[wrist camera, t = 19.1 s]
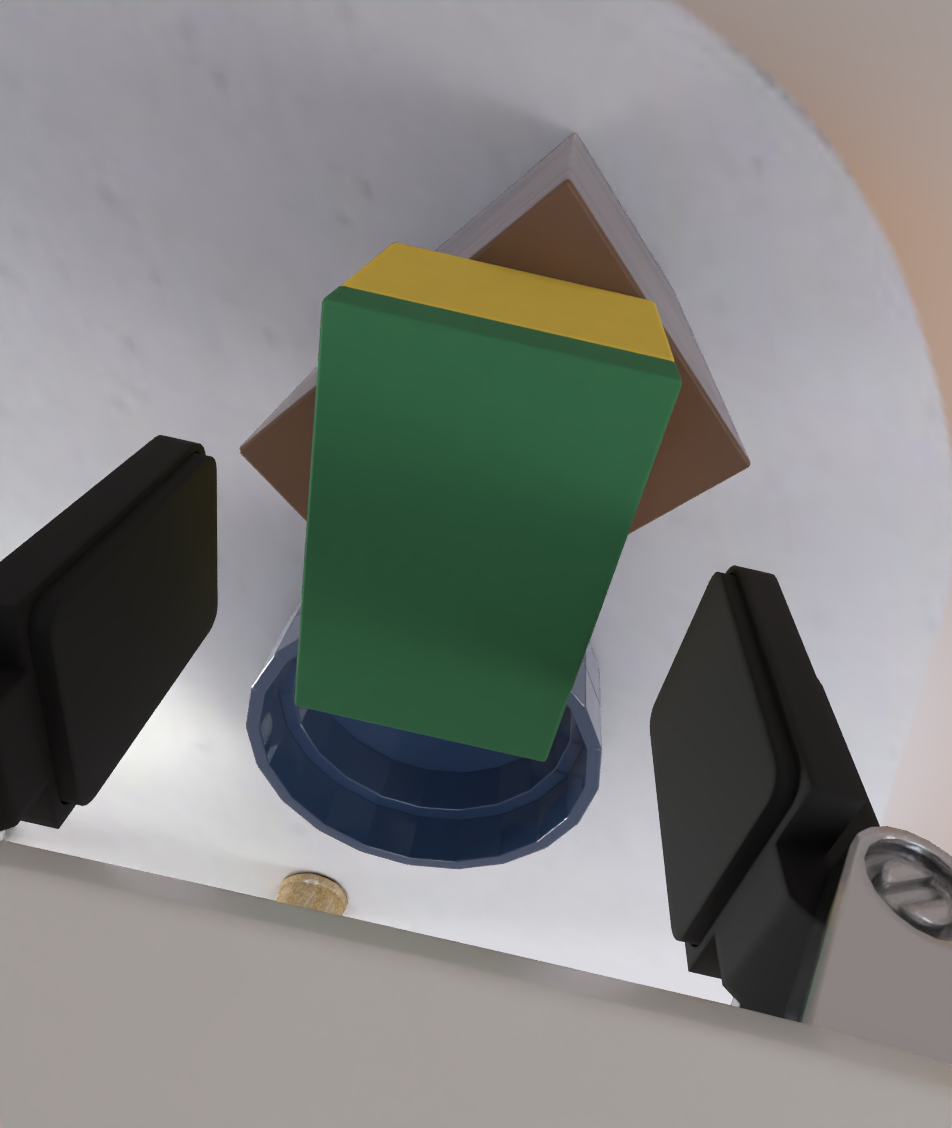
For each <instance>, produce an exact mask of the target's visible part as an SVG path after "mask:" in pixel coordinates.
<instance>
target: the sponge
mask: <svg viewBox="0 0 952 1128" xmlns="http://www.w3.org/2000/svg"><path fill="white" fill-rule="evenodd" d="M681 386H682V380H681V377H680V374H679V371H678V368H677V365H676V363H675V362H674V358H673V355H672V352H671V349H670V346H669V343H668V340H667V337H666V334H665V331H664V328H663V325H662V322H661V319H660V316H659V313H658V310H657V307H656V304H655V303H654V302H653V301H650V300H646V299H642V298H637V297H633V296H629V295H624V294H620V293H615V292H611V291H607V290H602V289H598V288H594V287H589V286H585V285H580V284H576V283H572V282H567V281H563V280H559V279H554V278H550V277H545V276H541V275H537V274H532V273H528V272H523V271H519V270H515V269H510V268H506V267H502V266H497V265H493V264H488V263H484V262H480V261H475V260H471V259H467V258H462V257H458V256H453V255H449V254H445V253H440V252H436V251H432V250H427V249H423V248H418V247H414V246H410V245H405V244H401V243H397V242H396V243H392V244H391V245H390V246H388V247H387V248H386V249H385V250H384V251H382V252H381V253H380V254H379V255H377V256H376V257H375V258H374V259H373V260H371V261H370V262H369V263H368V264H367V265H365V266H364V267H363V268H362V269H360V270H359V271H358V272H357V273H356V274H354V275H353V276H352V277H351V278H350V279H348V280H347V281H346V282H345V283H343V284H342V286H339V287H338V288H337V289H335V290H334V291H333V292H332V293H331V294H329V295H328V296H327V297H326V298H324V300H323V302H322V311H321V325H320V340H319V354H318V368H317V383H316V397H315V412H314V426H313V441H312V455H311V470H310V484H309V498H308V513H307V527H306V542H305V556H304V571H303V585H302V599H301V614H300V628H299V643H298V657H297V672H296V686H295V701H294V702H295V705H296V706H299V707H304V708H308V709H313V710H317V711H322V712H326V713H330V714H335V715H339V716H344V717H348V718H352V719H357V720H361V721H366V722H370V723H374V724H379V725H383V726H388V727H392V728H397V729H401V730H405V731H410V732H414V733H419V734H423V735H427V736H432V737H436V738H441V739H445V740H449V741H454V742H458V743H463V744H467V745H472V746H476V747H480V748H485V749H489V750H494V751H498V752H502V753H507V754H511V755H516V756H520V757H524V758H529V759H533V760H538V761H542V762H543V761H546V759H547V757H548V755H549V752H550V749H551V746H552V744H553V741H554V738H555V735H556V732H557V730H558V727H559V724H560V721H561V719H562V716H563V713H564V710H565V707H566V705H567V702H568V699H569V696H570V694H571V691H572V688H573V685H574V682H575V680H576V677H577V674H578V671H579V669H580V666H581V663H582V660H583V658H584V655H585V652H586V649H587V646H588V644H589V641H590V638H591V635H592V633H593V630H594V627H595V624H596V621H597V619H598V616H599V613H600V610H601V608H602V605H603V602H604V599H605V597H606V594H607V591H608V588H609V585H610V583H611V580H612V577H613V574H614V572H615V569H616V566H617V563H618V560H619V558H620V555H621V552H622V549H623V547H624V544H625V541H626V538H627V536H628V533H629V530H630V527H631V524H632V522H633V519H634V516H635V513H636V511H637V508H638V505H639V502H640V499H641V497H642V494H643V491H644V488H645V486H646V483H647V480H648V477H649V474H650V472H651V469H652V466H653V463H654V461H655V458H656V455H657V452H658V450H659V447H660V444H661V441H662V438H663V436H664V433H665V430H666V427H667V425H668V422H669V419H670V416H671V413H672V411H673V408H674V405H675V402H676V400H677V397H678V394H679V391H680V389H681Z"/></svg>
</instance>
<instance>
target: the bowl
mask: <svg viewBox="0 0 952 1128" xmlns="http://www.w3.org/2000/svg"><path fill="white" fill-rule="evenodd" d="M300 614H301V602H300V603H299V605H298V606H297V608H296V609H295V611H294V612H293V614H292V615H291V617H290V618H289V620H288V622H287V624H286V626H285V628H284V629H283V631H282V633H281V635H280V637H279V638H278V640H277V642H276V644H275V646H274V648H273V650H272V651H271V653H270V655H269V657H268V658H267V660H266V662H265V664H264V666H263V667H262V669H261V671H260V673H259V675H258V676H257V678H256V680H255V682H254V684H253V686H252V688H251V694H250V701H249V708H248V715H247V722H246V729H247V732H248V736H249V739H250V743H251V746H252V750H253V753H254V757H255V760H256V764H257V765H258V767H259V769H260V770H261V772H262V773H263V774H264V776H265V777H266V779H267V780H268V781H269V783H270V784H271V786H272V787H273V788H274V790H275V791H276V793H277V794H278V795H279V797H280V798H281V799H282V800H283V802H285V803H286V804H287V805H288V806H289V807H291V808H292V809H293V810H294V811H296V812H297V813H298V814H299V815H300V816H302V817H303V818H304V819H305V820H307V821H308V822H309V823H310V824H311V825H313V826H314V827H315V828H316V829H318V830H319V831H321V832H323V833H325V834H327V835H329V836H331V837H333V838H335V839H337V840H339V841H341V842H343V843H345V844H347V845H349V846H351V847H353V848H355V849H357V850H359V851H362V852H364V853H368V854H371V855H375V856H378V857H382V858H385V859H389V860H393V861H396V862H400V863H403V864H407V865H408V864H409V865H415V866H427V867H438V868H450V869H464V868H472V867H480V866H489V865H497V864H504V863H507V862H510V861H513V860H515V859H518V858H521V857H523V856H526V855H529V854H531V853H534V852H537V851H539V850H542V849H545V848H547V847H548V846H549V845H551V844H552V843H553V842H555V841H556V840H557V839H559V838H560V837H561V836H562V835H564V834H565V833H566V832H568V831H569V830H570V829H571V828H573V827H574V826H575V825H577V824H578V822H579V821H580V820H581V818H582V816H583V815H584V813H585V811H586V809H587V808H588V806H589V804H590V803H591V801H592V799H593V798H594V796H595V794H596V792H597V791H598V788H599V780H600V767H601V754H602V738H601V704H600V672H599V668H598V665H597V663H596V660H595V657H594V654H593V651H592V648H591V646H590V643H589V644H588V646H587V649H586V652H585V655H584V658H583V660H582V663H581V666H580V669H579V671H578V674H577V677H576V680H575V682H574V685H573V688H572V691H571V694H570V696H569V699H568V702H567V705H566V707H565V710H564V713H563V716H562V719H561V721H560V724H559V727H558V730H557V732H556V735H555V738H554V741H553V744H552V746H551V749H550V752H549V755H548V757H547V759H546V761H543V762H542V761H538V760H533V759H529V758H524V757H520V756H516V755H511V754H507V753H502V752H498V751H494V750H489V749H485V748H480V747H476V746H472V745H467V744H463V743H458V742H454V741H449V740H445V739H441V738H436V737H432V736H427V735H423V734H419V733H414V732H410V731H405V730H401V729H397V728H392V727H388V726H383V725H379V724H374V723H370V722H366V721H361V720H357V719H352V718H348V717H344V716H339V715H335V714H330V713H326V712H322V711H317V710H313V709H308V708H304V707H299V706H296V705H295V702H294V701H295V686H296V672H297V657H298V643H299V628H300Z"/></svg>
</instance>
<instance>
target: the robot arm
mask: <svg viewBox="0 0 952 1128" xmlns="http://www.w3.org/2000/svg"><path fill="white" fill-rule="evenodd" d="M217 606H218V591H217V468H216V462H215V459H214V458H213V457H211V456H206V453H205V450H204V447H203V446H202V445H201V444H199V443H194V442H190V441H186V440H181V439H177V438H172V437H168V436H163V435H159V436H157V437H155V438H154V439H152V440H151V441H150V442H149V443H147V444H146V445H145V446H144V447H142V448H141V449H140V450H139V451H137V452H136V453H135V454H134V455H132V456H131V457H130V458H129V459H127V460H126V461H125V462H124V463H123V464H121V465H120V466H119V467H118V468H116V469H115V470H114V471H113V472H111V473H110V474H109V475H108V476H106V477H105V478H104V479H103V480H101V481H100V482H99V483H98V484H96V485H95V486H94V487H93V488H91V489H90V490H89V491H88V492H86V493H85V494H84V495H83V496H81V497H80V498H79V499H78V500H77V501H75V502H74V503H73V504H72V505H70V506H69V507H68V508H67V509H65V510H64V511H63V512H62V513H60V514H59V515H58V516H57V517H55V518H54V519H53V520H52V521H50V522H49V523H48V524H47V525H45V526H44V527H43V528H42V529H40V530H39V531H38V532H37V533H36V534H34V535H33V536H32V537H31V538H29V539H28V540H27V541H26V542H24V543H23V544H22V545H21V546H19V547H18V548H17V549H16V550H14V551H13V552H12V553H11V554H9V555H8V556H7V557H6V558H4V559H3V560H2V561H1V562H0V1128H952V856H950V855H949V854H948V853H946V852H945V851H943V850H941V849H940V848H939V847H937V846H936V845H934V844H932V843H931V842H930V841H928V840H926V839H923V838H921V837H919V836H917V835H915V834H912V833H910V832H908V831H905V830H900V829H896V828H892V827H888V826H883V827H880V825H879V823H878V820H877V818H876V816H875V813H874V811H873V808H872V806H871V803H870V801H869V798H868V796H867V794H866V791H865V789H864V786H863V784H862V781H861V779H860V776H859V774H858V772H857V769H856V767H855V764H854V762H853V759H852V757H851V754H850V752H849V750H848V747H847V745H846V742H845V740H844V737H843V735H842V732H841V730H840V728H839V725H838V723H837V720H836V718H835V715H834V713H833V710H832V708H831V706H830V703H829V701H828V698H827V696H826V693H825V691H824V688H823V686H822V685H821V683H820V681H819V680H818V678H817V677H816V674H815V672H814V670H813V667H812V665H811V662H810V660H809V657H808V655H807V652H806V650H805V647H804V645H803V642H802V640H801V637H800V635H799V633H798V630H797V628H796V625H795V623H794V620H793V618H792V615H791V613H790V610H789V608H788V605H787V603H786V600H785V598H784V595H783V593H782V591H781V588H780V586H779V583H778V581H777V578H776V577H775V575H773V574H770V573H766V572H761V571H757V570H752V569H748V568H744V567H739V566H735V565H734V566H732V567H730V568H729V569H728V571H727V572H726V574H725V573H720V572H716V573H715V574H714V575H713V576H712V578H711V580H710V581H709V584H708V586H707V588H706V590H705V593H704V595H703V597H702V599H701V601H700V604H699V606H698V608H697V610H696V613H695V615H694V617H693V619H692V621H691V624H690V626H689V628H688V630H687V633H686V635H685V637H684V639H683V641H682V644H681V646H680V648H679V650H678V653H677V655H676V657H675V659H674V661H673V664H672V666H671V668H670V670H669V673H668V675H667V677H666V679H665V681H664V684H663V686H662V688H661V690H660V693H659V695H658V697H657V699H656V701H655V704H654V706H653V709H652V713H651V719H650V736H651V746H652V755H653V764H654V773H655V782H656V792H657V801H658V810H659V819H660V828H661V838H662V847H663V856H664V865H665V874H666V883H667V893H668V902H669V911H670V920H671V928H672V933H673V936H674V938H675V939H676V940H678V941H682V942H685V947H686V955H687V963H688V971H689V972H693V973H698V974H702V975H706V976H711V977H715V978H720V979H722V985H723V986H724V987H725V988H726V989H727V991H728V992H729V993H730V994H731V995H732V996H733V1000H732V1003H731V1005H727V1004H723V1003H719V1002H714V1001H710V1000H706V999H701V998H697V997H693V996H688V995H684V994H680V993H675V992H671V991H667V990H663V989H658V988H654V987H650V986H645V985H641V984H637V983H632V982H628V981H624V980H619V979H615V978H611V977H606V976H602V975H598V974H593V973H589V972H585V971H580V970H576V969H572V968H568V967H563V966H559V965H555V964H550V963H546V962H542V961H537V960H533V959H529V958H524V957H520V956H516V955H511V954H507V953H503V952H498V951H494V950H490V949H485V948H481V947H477V946H472V945H468V944H463V943H459V942H455V941H450V940H446V939H441V938H437V937H433V936H428V935H424V934H419V933H415V932H411V931H406V930H402V929H397V928H393V927H389V926H384V925H380V924H375V923H371V922H366V921H362V920H358V919H353V918H349V917H344V916H340V915H336V914H331V913H327V912H322V911H318V910H313V909H309V908H304V907H300V906H296V905H291V904H287V903H282V902H278V901H273V900H269V899H264V898H260V897H256V896H251V895H247V894H242V893H238V892H233V891H229V890H224V889H220V888H216V887H211V886H207V885H202V884H198V883H193V882H189V881H184V880H180V879H175V878H171V877H166V876H162V875H157V874H152V873H148V872H143V871H139V870H134V869H130V868H125V867H121V866H116V865H112V864H107V863H103V862H98V861H93V860H89V859H84V858H80V857H75V856H71V855H66V854H62V853H57V852H53V851H48V850H44V849H39V848H34V847H30V846H25V845H21V844H16V843H12V842H7V841H3V839H4V830H6V829H9V828H11V827H14V826H16V825H17V824H18V823H19V822H20V820H21V821H25V822H30V823H34V824H39V825H43V826H47V827H52V828H56V829H59V828H60V827H61V825H62V824H63V822H64V821H65V819H66V818H67V817H68V815H69V814H70V812H71V811H72V810H73V808H74V807H75V805H76V804H77V805H81V806H84V805H87V804H88V803H90V802H91V801H92V800H93V798H94V797H95V796H96V795H97V793H98V792H99V790H100V789H101V787H102V786H103V785H104V783H105V782H106V780H107V779H108V777H109V776H110V774H111V773H112V772H113V770H114V769H115V767H116V766H117V764H118V763H119V761H120V760H121V759H122V757H123V756H124V754H125V753H126V751H127V750H128V748H129V747H130V746H131V744H132V743H133V741H134V740H135V738H136V737H137V735H138V734H139V732H140V731H141V730H142V728H143V727H144V725H145V724H146V722H147V721H148V719H149V718H150V717H151V715H152V714H153V712H154V711H155V709H156V708H157V706H158V705H159V704H160V702H161V701H162V699H163V698H164V696H165V695H166V693H167V692H168V691H169V689H170V688H171V686H172V685H173V683H174V682H175V680H176V679H177V678H178V676H179V675H180V673H181V672H182V670H183V669H184V667H185V666H186V665H187V663H188V662H189V660H190V659H191V657H192V656H193V654H194V653H195V652H196V650H197V649H198V647H199V646H200V644H201V643H202V641H203V640H204V639H205V637H206V636H207V634H208V633H209V631H210V630H211V628H212V626H213V623H214V621H215V618H216V614H217Z"/></svg>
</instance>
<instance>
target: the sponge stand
mask: <svg viewBox="0 0 952 1128" xmlns="http://www.w3.org/2000/svg"><path fill="white" fill-rule="evenodd" d="M436 252H440V253H445V254H449V255H453V256H458V257H462V258H467V259H471V260H475V261H480V262H484V263H488V264H493V265H497V266H502V267H506V268H510V269H515V270H519V271H523V272H528V273H532V274H537V275H541V276H545V277H550V278H554V279H559V280H563V281H567V282H572V283H576V284H580V285H585V286H589V287H594V288H598V289H602V290H607V291H611V292H615V293H620V294H624V295H629V296H633V297H637V298H642V299H646V300H650V301H653V302H654V303H655V304H656V307H657V310H658V313H659V316H660V319H661V322H662V325H663V328H664V331H665V334H666V337H667V340H668V343H669V346H670V349H671V352H672V355H673V358H674V362H675V363H676V365H677V368H678V371H679V374H680V377H681V380H682V386H681V389H680V391H679V394H678V397H677V400H676V402H675V405H674V408H673V411H672V413H671V416H670V419H669V422H668V425H667V427H666V430H665V433H664V436H663V438H662V441H661V444H660V447H659V450H658V452H657V455H656V458H655V461H654V463H653V466H652V469H651V472H650V474H649V477H648V480H647V483H646V486H645V488H644V491H643V494H642V497H641V499H640V502H639V505H638V508H637V511H636V513H635V516H634V519H633V522H632V524H631V527H630V530H629V533H628V534H630V533H631V532H633V531H635V530H637V529H638V528H640V527H642V526H644V525H646V524H647V523H649V522H651V521H653V520H655V519H656V518H658V517H660V516H662V515H664V514H665V513H667V512H669V511H671V510H673V509H674V508H676V507H678V506H680V505H681V504H683V503H685V502H687V501H689V500H690V499H692V498H694V497H696V496H698V495H699V494H701V493H703V492H705V491H707V490H708V489H710V488H712V487H714V486H715V485H717V484H719V483H721V482H723V481H724V480H726V479H728V478H730V477H732V476H733V475H735V474H737V473H739V472H741V471H742V470H744V469H746V468H748V467H749V466H750V460H749V458H748V455H747V453H746V451H745V449H744V447H743V444H742V442H741V440H740V438H739V435H738V433H737V431H736V429H735V426H734V424H733V422H732V420H731V417H730V415H729V413H728V411H727V409H726V406H725V404H724V402H723V400H722V397H721V395H720V393H719V391H718V388H717V386H716V384H715V382H714V379H713V377H712V375H711V373H710V371H709V368H708V366H707V364H706V362H705V359H704V357H703V355H702V353H701V350H700V348H699V346H698V344H697V341H696V339H695V337H694V335H693V333H692V330H691V328H690V326H689V324H688V321H687V319H686V317H685V315H684V312H683V310H682V308H681V306H680V304H679V301H678V299H677V297H676V295H675V292H674V290H673V288H672V287H671V285H670V283H669V282H668V280H667V279H666V277H665V275H664V274H663V272H662V270H661V269H660V267H659V266H658V264H657V262H656V261H655V259H654V258H653V256H652V254H651V253H650V251H649V249H648V248H647V246H646V245H645V243H644V241H643V240H642V238H641V236H640V235H639V233H638V232H637V230H636V228H635V227H634V225H633V223H632V222H631V220H630V219H629V217H628V215H627V214H626V212H625V210H624V209H623V207H622V206H621V204H620V202H619V201H618V199H617V198H616V196H615V194H614V193H613V191H612V189H611V188H610V186H609V185H608V183H607V181H606V180H605V178H604V176H603V175H602V173H601V172H600V170H599V168H598V167H597V165H596V163H595V162H594V160H593V159H592V157H591V155H590V154H589V152H588V150H587V149H586V147H585V146H584V144H583V142H582V141H581V139H580V138H579V136H578V134H577V133H573V134H572V135H571V136H569V137H568V138H567V139H566V140H565V141H564V142H562V143H561V144H560V145H559V146H558V147H556V148H555V149H554V150H553V151H552V152H551V153H549V154H548V155H547V156H546V157H545V158H544V159H542V160H541V161H540V162H539V163H538V164H537V165H535V166H534V167H533V168H532V169H531V170H529V171H528V172H527V173H526V174H525V175H524V176H522V177H521V178H520V179H519V180H518V181H517V182H515V183H514V184H513V185H512V186H511V187H510V188H508V189H507V190H506V191H505V192H504V193H502V194H501V195H500V196H499V197H498V198H497V199H495V200H494V201H493V202H492V203H491V204H490V205H488V206H487V207H486V208H485V209H484V210H482V211H481V212H480V213H479V214H478V215H477V216H475V217H474V218H473V219H472V220H471V221H470V222H468V223H467V224H466V225H465V226H464V227H463V228H461V229H460V230H459V231H458V232H457V233H455V234H454V235H453V236H452V237H451V238H450V239H448V240H447V241H446V242H445V243H444V244H443V245H441V246H440V247H439V248H438V249H437V250H436ZM317 368H318V366H317V367H316V368H315V369H314V370H313V371H312V372H311V373H310V374H309V375H308V376H307V377H306V378H305V379H304V380H303V381H302V382H301V384H300V385H299V386H298V387H297V388H296V389H295V390H294V391H293V392H292V393H291V394H290V395H289V396H288V397H287V398H286V399H285V400H284V401H283V402H282V404H281V405H280V406H279V407H278V408H277V409H276V410H275V411H274V412H273V413H272V414H271V415H270V416H269V417H268V418H267V419H266V420H265V421H264V422H263V424H262V425H261V426H260V427H259V428H258V429H257V430H256V431H255V432H254V433H253V434H252V435H251V436H250V437H249V438H248V439H247V440H246V441H245V442H244V444H243V445H242V446H241V447H240V449H239V452H240V453H241V454H242V455H243V456H244V458H245V459H246V460H247V461H248V462H249V463H250V464H251V465H252V466H253V467H254V468H255V469H256V470H257V471H258V472H259V473H260V474H261V475H262V476H263V477H264V478H265V479H266V480H267V481H268V482H269V483H270V484H271V485H272V486H273V487H274V488H275V490H276V491H277V492H278V493H279V494H280V495H281V496H282V497H283V498H284V499H285V500H286V501H287V502H288V503H289V504H290V505H291V506H292V507H293V508H294V509H295V510H296V511H297V512H298V513H299V514H300V515H301V516H302V517H303V518H304V519H305V520H306V522H307V513H308V498H309V484H310V470H311V455H312V441H313V426H314V412H315V397H316V383H317Z"/></svg>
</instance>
